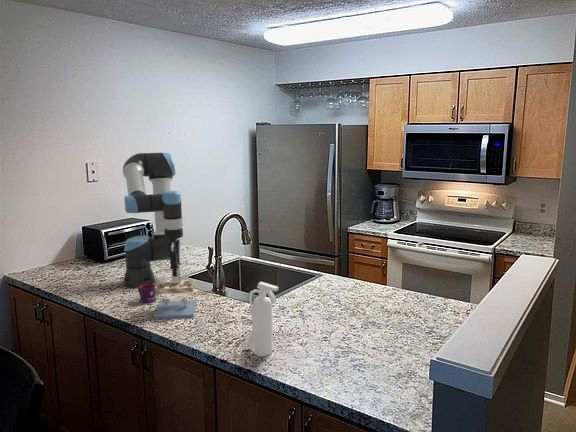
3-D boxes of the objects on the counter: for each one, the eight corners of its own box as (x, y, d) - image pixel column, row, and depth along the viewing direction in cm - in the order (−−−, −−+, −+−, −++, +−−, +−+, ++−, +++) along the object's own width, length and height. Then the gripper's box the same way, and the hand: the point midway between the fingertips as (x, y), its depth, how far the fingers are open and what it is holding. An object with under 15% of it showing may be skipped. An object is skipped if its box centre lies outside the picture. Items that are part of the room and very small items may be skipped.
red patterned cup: (145, 304, 202) (144, 290, 201) (134, 299, 209) (133, 284, 208) (158, 300, 207) (158, 286, 206) (147, 295, 214) (146, 281, 212)
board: (159, 304, 202) (159, 294, 201) (196, 302, 204) (196, 292, 203) (153, 319, 187) (152, 307, 186) (193, 317, 188) (193, 306, 188)
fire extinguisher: (251, 342, 165) (251, 276, 160) (280, 351, 160) (281, 283, 154) (240, 350, 160) (240, 282, 154) (270, 360, 154) (271, 289, 148)
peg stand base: (195, 284, 202) (194, 262, 200) (192, 292, 191) (191, 269, 189) (160, 285, 200) (158, 263, 198) (155, 294, 189) (154, 270, 188)
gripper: (167, 224, 201) (169, 276, 205) (161, 232, 185) (164, 288, 189) (184, 224, 201) (187, 275, 205) (180, 231, 186) (183, 287, 190)
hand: (176, 281), depth 197 cm, fingers closed on peg stand base, 3 cm apart
